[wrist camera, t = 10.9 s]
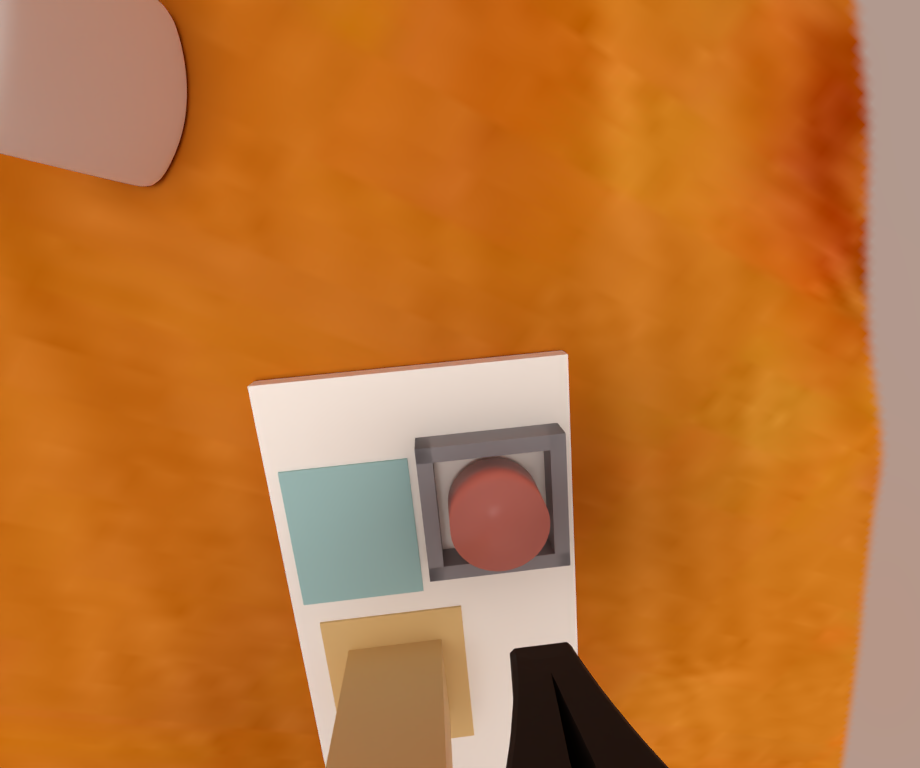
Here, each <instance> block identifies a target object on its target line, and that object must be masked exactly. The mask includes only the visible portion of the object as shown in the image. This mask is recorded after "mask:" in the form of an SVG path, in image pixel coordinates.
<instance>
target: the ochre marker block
mask: <svg viewBox="0 0 920 768" xmlns="http://www.w3.org/2000/svg"><path fill="white" fill-rule="evenodd" d="M326 768H453V764H452V744H451V725H450V709H449V701H448V692H447V684H446V675H445V667H444V658H443V650H442V641H441V639H437V640H429V641H420V642H412V643H404V644H396V645H388V646H380V647H372V648H363V649H355V650H349V651H348V656H347V662H346V667H345V672H344V677H343V682H342V687H341V692H340V697H339V702H338V707H337V712H336V718H335V723H334V728H333V733H332V738H331V743H330V748H329V753H328V758H327V763H326Z"/></svg>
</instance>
